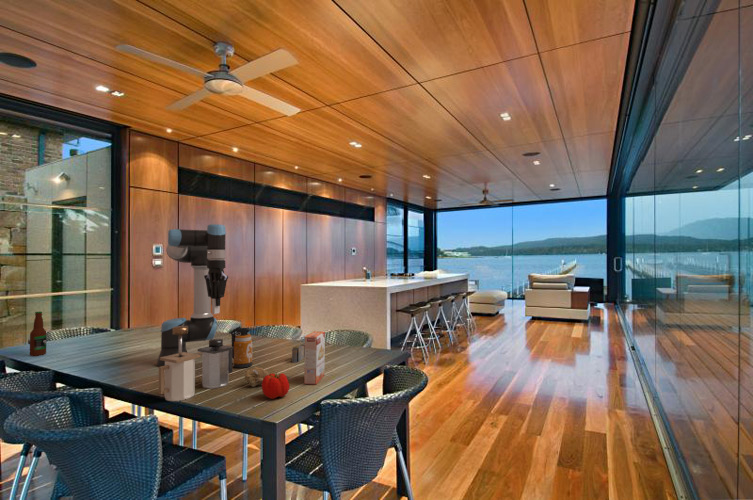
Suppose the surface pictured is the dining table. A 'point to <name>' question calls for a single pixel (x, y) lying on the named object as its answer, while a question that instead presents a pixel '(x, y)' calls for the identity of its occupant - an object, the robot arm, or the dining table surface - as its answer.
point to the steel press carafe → (216, 366)
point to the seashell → (255, 376)
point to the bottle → (38, 337)
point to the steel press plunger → (215, 343)
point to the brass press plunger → (180, 335)
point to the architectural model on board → (298, 353)
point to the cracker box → (314, 357)
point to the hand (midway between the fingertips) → (215, 313)
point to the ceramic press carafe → (178, 376)
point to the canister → (241, 347)
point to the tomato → (275, 385)
